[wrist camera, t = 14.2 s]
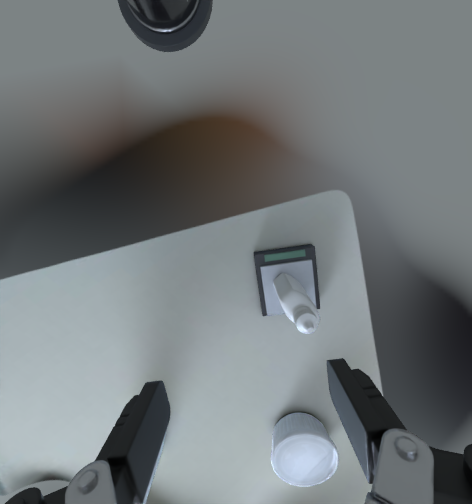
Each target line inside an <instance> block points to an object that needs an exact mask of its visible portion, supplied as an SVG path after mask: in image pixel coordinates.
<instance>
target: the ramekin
mask: <svg viewBox="0 0 472 504" xmlns="http://www.w3.org/2000/svg"><path fill="white" fill-rule="evenodd" d="M271 463H272V467H273V469H274V471H275V473H276V474H277V475H278V476H279V477H280V478H281V479H282V480H284V481H285V482H287V483H289V484H291V485H295V486H302V487H307V486H314V485H317V484H320V483H322V482H324V481H326V480H328V479H329V478H330V477H331V476H332V475H333V474H334V473H335V471H336V469H337V467H338V464H339V454H338V451H337V448H336V446H335V444H334V443H333V441H332V440H331V439H330V437H329V435H328V433H327V431H326V429H325V428H324V426H323V424H322V423H321V422H320V421H319V420H318V419H316V418H315V417H313V416H311V415H309V414H306V413H292V414H289V415H286V416H284V417H283V418H282V419H280V420H279V422H278V423H277V424H276V425H275V427H274V430H273V434H272V450H271Z"/></svg>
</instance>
